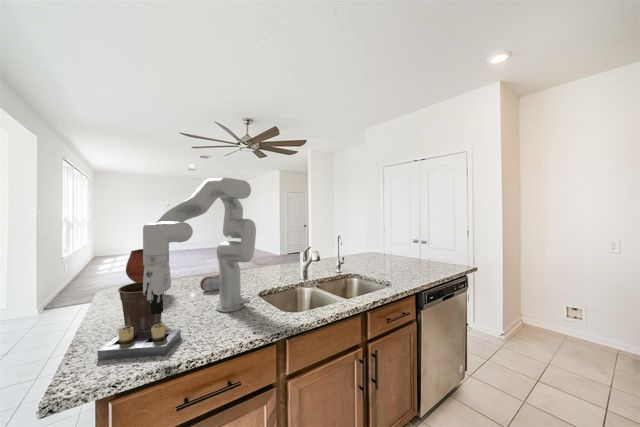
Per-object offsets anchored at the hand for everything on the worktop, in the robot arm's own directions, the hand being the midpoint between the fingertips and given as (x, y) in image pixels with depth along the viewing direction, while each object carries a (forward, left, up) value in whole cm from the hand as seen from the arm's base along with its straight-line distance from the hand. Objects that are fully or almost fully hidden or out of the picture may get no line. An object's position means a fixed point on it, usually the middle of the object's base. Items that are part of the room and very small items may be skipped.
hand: (157, 313), depth 90 cm
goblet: (+33, -61, -12) cm, 71 cm away
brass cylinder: (0, 0, -12) cm, 12 cm away
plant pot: (+14, -19, -12) cm, 27 cm away
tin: (-2, -64, -12) cm, 65 cm away
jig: (+5, 0, -12) cm, 13 cm away
